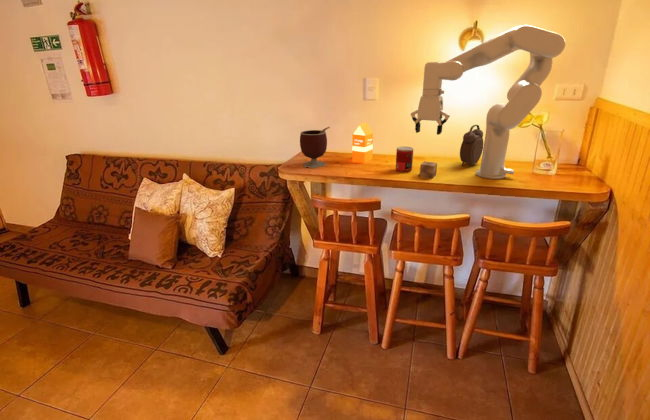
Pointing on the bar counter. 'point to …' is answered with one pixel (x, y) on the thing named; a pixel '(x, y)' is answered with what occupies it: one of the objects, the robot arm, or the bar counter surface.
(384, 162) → the bar counter surface
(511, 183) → the bar counter surface
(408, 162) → the canned food
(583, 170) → the bar counter surface
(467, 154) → the alarm clock
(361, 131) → the orange juice
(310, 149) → the mate gourd
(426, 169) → the walnut cube
